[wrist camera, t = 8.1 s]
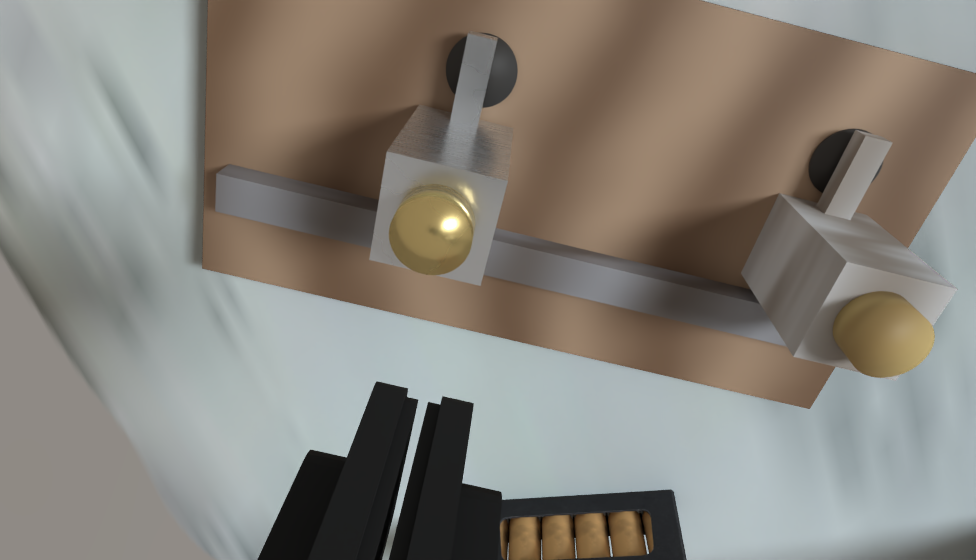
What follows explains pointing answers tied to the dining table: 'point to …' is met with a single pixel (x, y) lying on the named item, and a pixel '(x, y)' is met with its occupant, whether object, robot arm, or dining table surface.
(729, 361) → the board
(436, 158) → the metal block with knob
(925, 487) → the dining table surface
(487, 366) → the dining table surface
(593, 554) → the ammunition clip
